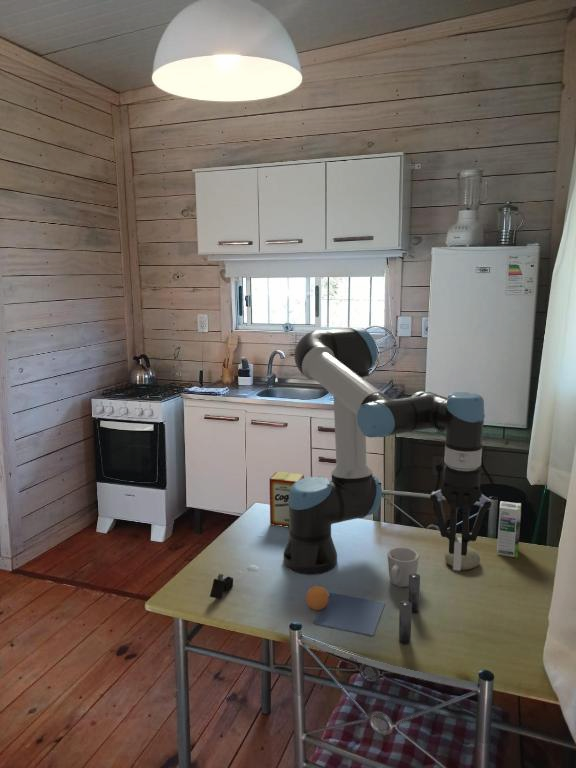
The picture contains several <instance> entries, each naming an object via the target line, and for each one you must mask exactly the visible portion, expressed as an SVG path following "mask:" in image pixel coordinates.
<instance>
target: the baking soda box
mask: <svg viewBox="0 0 576 768" xmlns="http://www.w3.org/2000/svg"><path fill="white" fill-rule="evenodd" d="M303 478H305V474H303V473H302V474H301V473H291V472H285V471H275V472H274V473H273V475H271V477H270V478H269V523H270V524H274V525H273V526H275V525H282V526H281V527H283V526H288V527H287V528H289V503H288V501H289V492H290V488H291V487H292V485H293V484H294V483H295V482H297V481H298V480H301V479H303ZM270 524H269V525H270Z"/></svg>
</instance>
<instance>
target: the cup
mask: <svg viewBox="0 0 576 768" xmlns="http://www.w3.org/2000/svg"><path fill="white" fill-rule="evenodd" d="M419 559H420V556H419V553H418V552H417V551H416V550H414V549H411V548H408V547H403V546H402V547H400V546H399V547H395V548H394V547H393V548H391V549H390V550H389V551H388V552H387V563H388V564H387V565H388V575H389V576H388V577H389V580H390V582H391V583H392V584H393V585H394V586H397V587H399V588H409V575H410V574H412V573H415V574H418V573H417V572H418V565H419Z"/></svg>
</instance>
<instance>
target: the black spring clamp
mask: <svg viewBox="0 0 576 768" xmlns="http://www.w3.org/2000/svg"><path fill="white" fill-rule="evenodd" d="M232 587H233V588H234V577H231V576H227V577H224V574H221V573H219V574H218V575H217V578H214V579H213V582H212V587H211V590H210V594H209V597H210V598H214V599H220V600H222V599H223V595H224V593H228V592H230V591H231V590H232V589H233V588H232ZM231 588H232V589H231ZM230 589H231V590H230ZM229 590H230V591H229ZM221 598H222V599H221Z"/></svg>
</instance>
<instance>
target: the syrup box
mask: <svg viewBox="0 0 576 768" xmlns="http://www.w3.org/2000/svg"><path fill="white" fill-rule="evenodd" d="M498 512H499V514H498V516H499V517H498V531H497V543H496V544H497V545H496V555H498V556H505V557H511V558H512V557H513V558H516V559H517V558H518V557H519V545H520V544H519V543H520V531H521V530H520V528H521V517H522V503H521V502H510V501H502V500H501V501H499V511H498Z"/></svg>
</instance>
